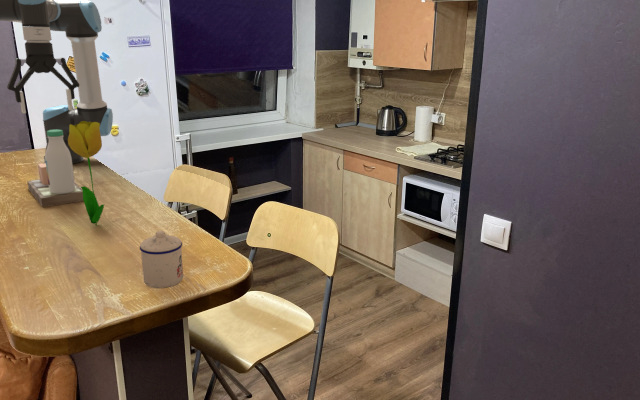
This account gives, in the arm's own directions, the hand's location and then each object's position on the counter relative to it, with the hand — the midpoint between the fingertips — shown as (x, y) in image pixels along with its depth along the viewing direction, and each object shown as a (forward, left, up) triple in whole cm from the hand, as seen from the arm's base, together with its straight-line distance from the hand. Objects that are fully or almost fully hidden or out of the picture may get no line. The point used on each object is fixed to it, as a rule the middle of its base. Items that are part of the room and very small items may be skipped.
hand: (47, 111), depth 170 cm
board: (-2, -3, -29) cm, 29 cm away
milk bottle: (+2, +4, -26) cm, 26 cm away
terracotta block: (-5, -8, -26) cm, 27 cm away
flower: (+17, +30, -29) cm, 45 cm away
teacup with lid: (+39, +68, -29) cm, 83 cm away
